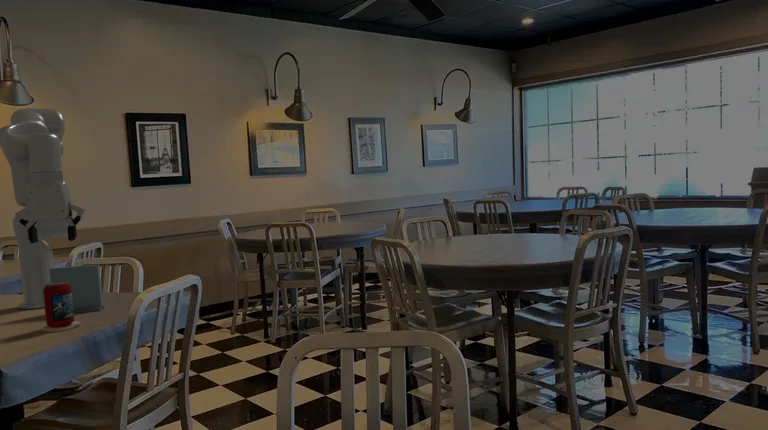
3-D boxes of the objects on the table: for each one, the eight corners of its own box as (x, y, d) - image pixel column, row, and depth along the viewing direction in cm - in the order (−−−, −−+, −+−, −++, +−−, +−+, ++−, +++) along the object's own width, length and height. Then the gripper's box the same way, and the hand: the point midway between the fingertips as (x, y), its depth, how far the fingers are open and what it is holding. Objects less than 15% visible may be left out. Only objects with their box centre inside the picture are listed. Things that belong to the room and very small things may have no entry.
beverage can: (62, 328, 153) (58, 285, 152) (41, 328, 154) (36, 285, 153) (80, 321, 159) (76, 279, 158) (59, 321, 160) (55, 280, 159)
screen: (58, 311, 178) (53, 267, 177) (105, 307, 180) (101, 263, 179) (51, 314, 173) (46, 269, 172) (99, 310, 175) (95, 266, 174)
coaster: (51, 324, 160) (51, 322, 160) (85, 321, 162) (84, 319, 162) (37, 333, 151) (36, 331, 151) (72, 330, 153) (72, 328, 153)
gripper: (5, 181, 148) (12, 245, 150) (76, 177, 151) (81, 241, 152) (19, 180, 156) (25, 242, 157) (86, 177, 158) (91, 237, 160)
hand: (53, 241), depth 155 cm, fingers open, 9 cm apart
